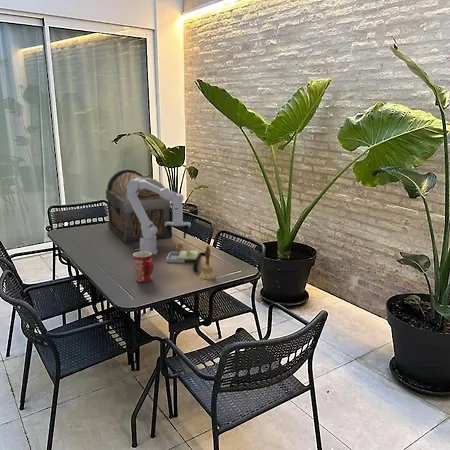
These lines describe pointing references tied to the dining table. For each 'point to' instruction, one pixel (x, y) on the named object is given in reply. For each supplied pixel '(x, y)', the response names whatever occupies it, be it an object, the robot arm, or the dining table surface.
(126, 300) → the dining table surface
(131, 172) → the treasure chest
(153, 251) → the robot arm
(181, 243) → the wooden block
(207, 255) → the hand bell
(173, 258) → the shallow grey tray
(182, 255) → the lid
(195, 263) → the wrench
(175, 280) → the dining table surface
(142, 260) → the mug
